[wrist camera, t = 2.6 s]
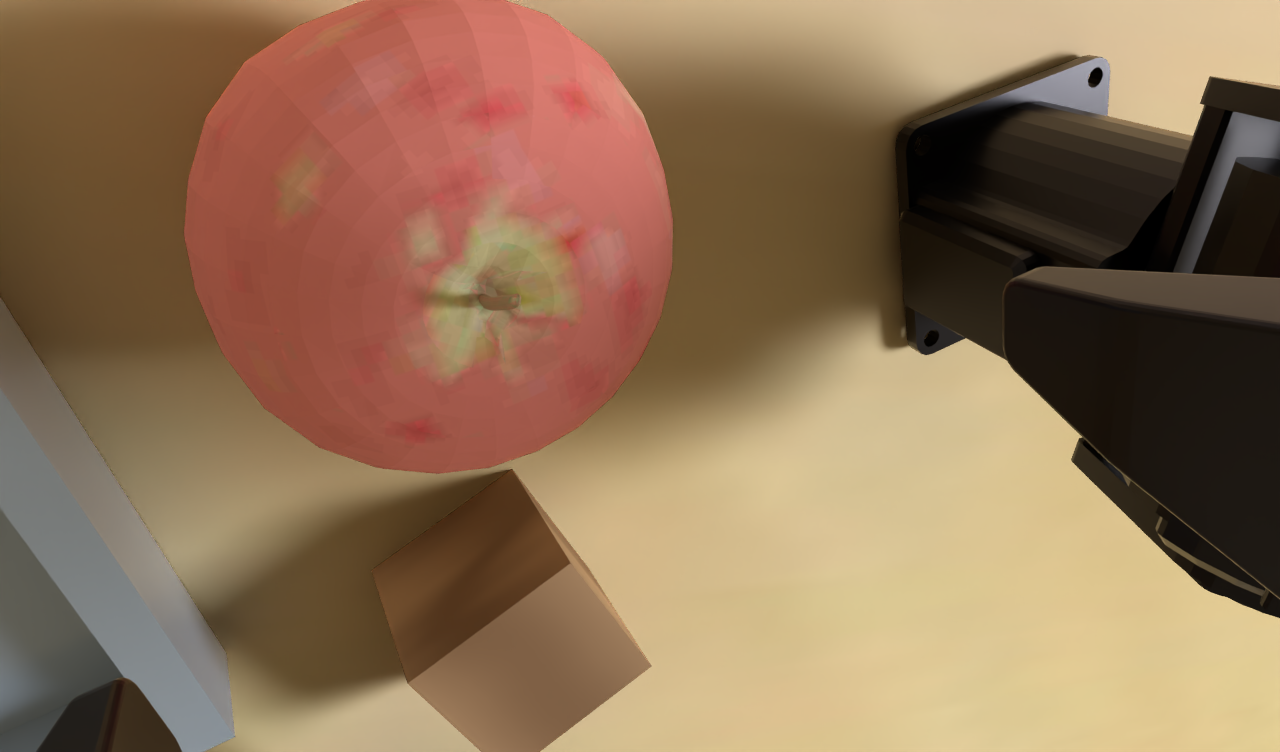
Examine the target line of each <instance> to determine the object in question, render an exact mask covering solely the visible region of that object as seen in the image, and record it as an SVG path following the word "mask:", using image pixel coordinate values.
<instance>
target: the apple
mask: <svg viewBox="0 0 1280 752" xmlns="http://www.w3.org/2000/svg"><path fill="white" fill-rule="evenodd" d="M184 237H185V243H186V247H187V252H188V257H189V261H190V266H191V271H192V276H193V281H194V286H195V291H196V293H197V296H198V298H199V301H200V303H201V305H202V308H203V310H204V312H205V315H206V317H207V319H208V322H209V324H210V326H211V329H212V331H213V333H214V336H215V338H216V340H217V343H218V345H219V347H220V349H221V351H222V353H223V354H224V356H225V357H226V358H227V360H228V361H229V362H230V364H231V365H232V366H233V368H234V369H235V370H236V372H237V373H238V374H239V376H240V377H241V378H242V380H243V381H244V382H245V384H246V385H247V386H248V388H249V389H250V390H251V391H252V393H253V394H254V395H255V397H256V398H257V399H258V401H259V402H260V403H261V405H262V406H263V407H264V408H265V409H266V410H268V411H269V412H270V413H272V414H273V415H275V416H276V417H277V418H279V419H280V420H282V421H283V422H284V423H286V424H287V425H289V426H290V427H291V428H293V429H294V430H296V431H297V432H298V433H300V434H301V435H303V436H304V437H305V438H307V439H308V440H310V441H311V442H312V443H314V444H315V445H317V446H318V447H319V448H322V449H325V450H328V451H331V452H334V453H336V454H339V455H342V456H345V457H348V458H351V459H354V460H356V461H359V462H362V463H365V464H368V465H371V466H374V467H378V468H383V469H394V470H404V471H415V472H425V473H436V474H439V473H447V472H456V471H464V470H473V469H481V468H489V467H492V466H495V465H498V464H501V463H504V462H507V461H510V460H512V459H515V458H518V457H521V456H524V455H527V454H530V453H533V452H536V451H538V450H540V449H542V448H543V447H545V446H547V445H549V444H550V443H552V442H554V441H555V440H557V439H559V438H561V437H562V436H564V435H566V434H568V433H569V432H571V431H573V430H574V429H576V428H578V427H579V426H580V425H581V424H583V423H584V422H585V421H586V420H587V419H588V418H589V417H590V416H591V415H593V414H594V413H595V412H596V411H597V410H598V409H599V408H600V407H601V406H603V405H604V404H605V403H606V402H607V401H608V400H609V399H610V398H612V397H613V395H614V394H615V393H616V391H617V390H618V389H619V387H620V386H621V385H622V383H623V382H624V381H625V379H626V378H627V377H628V375H629V374H630V373H631V371H632V370H633V368H634V367H635V366H636V364H637V363H638V362H639V360H640V359H641V357H642V355H643V353H644V351H645V349H646V347H647V345H648V343H649V340H650V338H651V336H652V334H653V332H654V330H655V328H656V326H657V324H658V322H659V320H660V318H661V314H662V310H663V305H664V301H665V297H666V293H667V289H668V285H669V281H670V276H671V271H672V254H673V217H672V211H671V206H670V200H669V195H668V190H667V184H666V179H665V174H664V170H663V166H662V163H661V160H660V158H659V155H658V152H657V150H656V147H655V144H654V142H653V139H652V136H651V134H650V131H649V128H648V125H647V123H646V120H645V117H644V115H643V113H642V112H641V110H640V109H639V107H638V106H637V104H636V103H635V101H634V100H633V99H632V97H631V96H630V94H629V93H628V91H627V90H626V89H625V87H624V86H623V84H622V83H621V81H620V80H619V79H618V77H617V76H616V74H615V73H614V71H613V70H612V69H611V67H610V66H609V64H608V63H607V61H606V60H605V59H604V58H603V57H602V56H601V55H600V54H599V53H597V52H596V51H595V50H594V49H593V48H591V47H590V46H589V45H587V44H586V43H585V42H583V41H582V40H580V39H579V38H578V37H576V36H575V35H574V34H572V33H571V32H570V31H568V30H567V29H566V28H565V27H563V26H562V25H561V24H559V23H558V22H557V21H555V20H554V19H552V18H551V17H549V16H548V15H546V14H543V13H540V12H537V11H535V10H532V9H529V8H526V7H523V6H520V5H517V4H514V3H511V2H508V1H505V0H367V1H362V2H359V3H356V4H353V5H351V6H348V7H345V8H343V9H340V10H338V11H335V12H332V13H330V14H327V15H325V16H322V17H320V18H317V19H314V20H312V21H309V22H307V23H304V24H301V25H299V26H297V27H296V28H294V29H293V30H291V31H290V32H288V33H287V34H285V35H284V36H282V37H281V38H279V39H278V40H276V41H275V42H273V43H272V44H270V45H269V46H267V47H266V48H264V49H263V50H262V51H260V52H259V53H257V54H256V55H254V56H253V57H251V58H250V59H248V60H247V61H245V62H244V63H243V65H242V66H241V68H240V69H239V71H238V72H237V73H236V75H235V76H234V78H233V79H232V81H231V82H230V83H229V85H228V86H227V88H226V89H225V91H224V92H223V93H222V95H221V96H220V98H219V99H218V101H217V102H216V103H215V105H214V106H213V108H212V109H211V111H210V112H209V113H208V115H207V116H206V119H205V122H204V126H203V129H202V133H201V136H200V140H199V143H198V147H197V150H196V154H195V157H194V161H193V164H192V168H191V171H190V175H189V178H188V188H187V201H186V214H185V227H184Z"/></svg>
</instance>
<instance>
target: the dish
mask: <svg viewBox="0 0 1280 752" xmlns="http://www.w3.org/2000/svg"><path fill="white" fill-rule="evenodd" d="M120 677H122V678H128V679H130V680H131V681H133V682H134V683H135V684H136V685H137V686H138V687H139V688H140V690H141V691H142V692H143V694H144V695H145V696H146V698H147V699H148V701H149V702H150V703H151V705H152V706H153V707H154V709H155V710H156V712H157V713H158V714H159V716H160V717H161V718H162V720H163V721H164V723H165V724H166V725H167V727H168V728H169V729H170V731H171V732H172V734H173V735H174V737H175V738H176V740H177V742H178V744H179V746H180V748H181V750H182V752H204V751H206V750H208V749H211V748H213V747H215V746H217V745H219V744H221V743H223V742H225V741H227V740H229V739H231V738H233V737H235V731H234V721H233V712H232V702H231V692H230V682H229V672H228V662H227V653H226V652H225V650H224V649H223V647H222V646H221V644H220V642H219V641H218V639H217V638H216V636H215V635H214V633H213V631H212V630H211V628H210V627H209V625H208V624H207V622H206V620H205V619H204V617H203V616H202V614H201V612H200V611H199V609H198V608H197V606H196V605H195V603H194V601H193V600H192V598H191V597H190V595H189V594H188V592H187V590H186V589H185V587H184V586H183V584H182V583H181V581H180V579H179V578H178V576H177V575H176V573H175V571H174V570H173V568H172V567H171V565H170V564H169V562H168V560H167V559H166V557H165V556H164V554H163V553H162V551H161V549H160V548H159V546H158V545H157V543H156V541H155V540H154V538H153V537H152V535H151V534H150V532H149V530H148V529H147V527H146V526H145V524H144V523H143V521H142V519H141V518H140V516H139V515H138V513H137V512H136V510H135V508H134V507H133V505H132V504H131V502H130V500H129V499H128V497H127V496H126V494H125V493H124V491H123V489H122V488H121V486H120V485H119V483H118V482H117V480H116V478H115V477H114V475H113V474H112V472H111V471H110V469H109V467H108V466H107V464H106V463H105V461H104V459H103V458H102V456H101V455H100V453H99V452H98V450H97V448H96V447H95V445H94V444H93V442H92V441H91V439H90V437H89V436H88V434H87V433H86V431H85V430H84V428H83V426H82V425H81V423H80V422H79V420H78V418H77V417H76V415H75V414H74V412H73V411H72V409H71V407H70V406H69V404H68V403H67V401H66V400H65V398H64V396H63V395H62V393H61V392H60V390H59V388H58V387H57V385H56V384H55V382H54V381H53V379H52V377H51V376H50V374H49V373H48V371H47V370H46V368H45V366H44V365H43V363H42V362H41V360H40V359H39V357H38V355H37V354H36V352H35V351H34V349H33V347H32V346H31V344H30V343H29V341H28V340H27V338H26V336H25V335H24V333H23V332H22V330H21V329H20V327H19V325H18V324H17V322H16V321H15V319H14V318H13V316H12V314H11V313H10V311H9V310H8V308H7V306H6V305H5V303H4V302H3V300H2V299H1V297H0V752H35V751H36V750H37V749H38V747H39V746H40V744H41V743H42V741H43V740H44V738H45V737H46V735H47V734H48V733H49V731H50V730H51V728H52V727H53V725H54V724H55V722H56V721H57V719H58V718H59V717H60V715H61V714H62V712H63V711H64V709H65V708H66V706H67V705H68V704H69V703H70V702H71V700H72V699H74V698H75V697H77V696H78V695H80V694H82V693H85V692H87V691H89V690H91V689H94V688H96V687H98V686H100V685H103V684H105V683H107V682H109V681H112V680H114V679H116V678H120Z"/></svg>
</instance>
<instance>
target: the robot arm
mask: <svg viewBox="0 0 1280 752" xmlns="http://www.w3.org/2000/svg"><path fill="white" fill-rule="evenodd" d="M1089 74H1090V77H1089ZM1088 77H1089V79H1088ZM1109 81H1110V66H1109V63H1108V62H1107V60H1106V59H1104V58H1102V57H1097V56H1091V55H1087V56H1082V57H1080V58H1077V59H1074V60H1072V61H1069V62H1067V63H1064V64H1061V65H1059V66H1056V67H1054V68H1051V69H1048V70H1046V71H1043V72H1041V73H1038V74H1035V75H1033V76H1030V77H1027V78H1025V79H1022V80H1020V81H1017V82H1014V83H1012V84H1009V85H1007V86H1004V87H1001V88H999V89H996V90H993V91H991V92H988V93H986V94H983V95H980V96H978V97H975V98H973V99H970V100H967V101H965V102H962V103H959V104H957V105H954V106H952V107H949V108H946V109H944V110H941V111H939V112H936V113H933V114H931V115H928V116H926V117H923V118H920V119H918V120H915V121H912V122H910V123H909V124H907V125H905V126H904V127H903V129H902V130H901V131H900V132H899V135H898V137H897V140H896V147H895V150H896V166H897V182H898V198H899V214H900V221H899V228H900V244H901V260H902V276H903V292H904V303H905V311H906V328H907V340H908V344H909V346H910V347H911V348H913V349H914V350H916V351H918V352H919V353H921V354H924V355H929V354H933V353H935V352H937V351H939V350H941V349H943V348H945V347H948V346H950V345H952V344H954V343H956V342H958V341H960V340H963V339H965V338H967V339H969V340H970V341H972V342H974V343H976V344H978V345H980V346H981V347H983V348H985V349H987V350H989V351H991V352H992V353H994V354H996V355H998V356H1000V357H1002V358H1003V359H1005V360H1007V361H1008V363H1009V364H1010V366H1011V367H1012V369H1013V370H1014V371H1015V372H1016V373H1017V374H1018V375H1019V376H1020V377H1021V378H1022V379H1023V380H1024V381H1025V382H1026V383H1027V384H1028V385H1029V386H1030V387H1031V388H1032V389H1033V390H1035V391H1036V392H1037V393H1038V394H1039V395H1040V396H1041V397H1042V398H1043V399H1044V400H1045V401H1046V402H1047V403H1048V404H1049V405H1050V406H1051V407H1052V408H1053V409H1054V410H1055V411H1056V412H1057V413H1058V414H1059V415H1060V416H1061V417H1062V418H1063V419H1064V420H1065V421H1066V422H1067V423H1068V424H1069V425H1070V426H1072V427H1073V428H1074V429H1075V430H1076V431H1077V432H1078V433H1079V434H1080V435H1081V436H1082V437H1083V438H1079V440H1078V442H1077V445H1076V448H1075V451H1074V454H1073V456H1072V459H1071V460H1072V462H1073V463H1074V464H1075V465H1076V466H1077V467H1078V468H1079V469H1080V470H1081V471H1082V472H1083V473H1084V474H1085V475H1086V476H1087V477H1088V478H1089V479H1090V480H1091V481H1092V482H1093V483H1094V484H1095V485H1096V486H1097V487H1098V488H1099V489H1100V490H1101V491H1102V492H1103V493H1105V494H1106V495H1107V496H1108V497H1109V498H1110V499H1111V500H1112V501H1113V502H1114V503H1115V504H1116V505H1117V506H1118V507H1119V508H1120V509H1121V510H1122V511H1123V512H1124V513H1125V514H1126V515H1127V516H1128V517H1129V518H1130V519H1131V520H1132V521H1133V522H1134V523H1135V524H1136V525H1137V526H1138V527H1139V528H1140V529H1141V530H1142V531H1143V532H1144V533H1145V534H1146V535H1147V536H1148V537H1149V538H1150V539H1151V540H1152V541H1153V542H1154V543H1156V544H1157V545H1158V546H1159V547H1160V548H1161V549H1162V550H1163V551H1164V552H1165V553H1166V554H1167V555H1168V556H1169V557H1170V558H1171V559H1172V560H1173V561H1174V562H1175V563H1176V564H1178V565H1179V566H1180V567H1181V568H1182V569H1183V570H1185V571H1186V572H1187V573H1188V574H1189V575H1190V576H1191V577H1192V578H1193V579H1194V580H1195V581H1196V582H1197V583H1198V584H1199V585H1200V586H1202V587H1203V588H1204V589H1206V590H1208V591H1210V592H1212V593H1215V594H1217V595H1221V596H1225V597H1228V598H1230V599H1232V600H1234V601H1236V602H1238V603H1240V604H1242V605H1244V606H1247V607H1250V608H1253V609H1255V610H1258V611H1260V612H1262V613H1265V614H1269V615H1272V616H1275V617H1278V618H1280V86H1276V85H1269V84H1262V83H1254V82H1247V81H1240V80H1233V79H1225V78H1218V77H1211V76H1210V77H1209V80H1208V83H1207V86H1206V88H1205V91H1204V94H1203V97H1202V99H1201V102H1200V104H1204V108H1203V111H1202V113H1201V116H1200V119H1199V122H1198V124H1197V127H1196V130H1195V133H1194V135H1193V136H1190V135H1186V134H1182V133H1178V132H1173V131H1169V130H1165V129H1160V128H1156V127H1152V126H1147V125H1143V124H1139V123H1135V122H1130V121H1126V120H1122V119H1117V118H1113V117H1109V116H1107V114H1108V98H1109ZM919 137H920V138H921V139H920V144H919V146H918V148H917V149H916V150H914V146H915V142H916V140H917V139H918V138H919ZM928 332H929V334H928V336H927V337H926V338H925V336H926V334H927V333H928ZM924 338H925V339H924ZM35 752H182V750H181V748H180V746H179V744H178V742H177V740H176V738H175V737H174V735H173V734H172V732H171V731H170V729H169V728H168V727H167V725H166V724H165V723H164V721H163V720H162V718H161V717H160V716H159V714H158V713H157V712H156V710H155V709H154V707H153V706H152V705H151V703H150V702H149V701H148V699H147V698H146V696H145V695H144V694H143V692H142V691H141V690H140V688H139V687H138V686H137V685H136V684H135V683H134V682H133V681H131V680H130V679H128V678H122V677H120V678H116V679H114V680H112V681H109V682H107V683H105V684H103V685H100V686H98V687H96V688H94V689H91V690H89V691H87V692H85V693H82V694H80V695H78V696H77V697H75V698H74V699H72V700H71V702H70V703H69V704H68V705H67V706H66V708H65V709H64V711H63V712H62V714H61V715H60V717H59V718H58V719H57V721H56V722H55V724H54V725H53V727H52V728H51V730H50V731H49V733H48V734H47V735H46V737H45V738H44V740H43V741H42V743H41V744H40V746H39V747H38V749H37V750H36V751H35Z"/></svg>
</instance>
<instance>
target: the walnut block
mask: <svg viewBox="0 0 1280 752" xmlns="http://www.w3.org/2000/svg"><path fill="white" fill-rule="evenodd" d="M371 571H372V574H373V577H374V580H375V584H376V587H377V590H378V593H379V596H380V599H381V602H382V605H383V608H384V612H385V615H386V618H387V621H388V624H389V627H390V630H391V633H392V636H393V639H394V643H395V646H396V649H397V652H398V655H399V658H400V661H401V664H402V667H403V671H404V674H405V677H406V680H407V683H408V684H409V685H410V686H411V687H412V688H413V689H414V690H415V691H416V692H417V693H418V694H420V695H421V696H422V697H423V698H424V699H425V700H426V701H427V702H428V703H429V704H430V705H431V706H433V707H434V708H435V709H436V710H437V711H438V712H439V713H440V714H441V715H442V716H443V717H444V718H445V719H447V720H448V721H449V722H450V723H451V724H452V725H453V726H454V727H455V728H456V729H457V730H458V731H460V732H461V733H462V734H463V735H464V736H465V737H466V738H467V739H468V740H469V741H470V742H471V743H473V744H474V745H475V746H476V747H477V748H478V749H479V750H480V751H481V752H540V751H541V750H542V749H544V748H545V747H546V746H548V745H549V744H550V743H552V742H553V741H554V740H556V739H557V738H558V737H559V736H561V735H562V734H563V733H565V732H566V731H567V730H569V729H570V728H571V727H573V726H574V725H575V724H576V723H578V722H579V721H580V720H582V719H583V718H584V717H586V716H587V715H588V714H590V713H591V712H592V711H593V710H595V709H596V708H597V707H599V706H600V705H601V704H603V703H604V702H605V701H607V700H608V699H609V698H611V697H612V696H613V695H614V694H616V693H617V692H618V691H620V690H621V689H622V688H624V687H625V686H626V685H628V684H629V683H630V682H631V681H633V680H634V679H635V678H637V677H638V676H639V675H641V674H642V673H643V672H645V671H646V670H647V669H648V668H650V667H651V665H650V663H649V662H648V660H647V658H646V657H645V655H644V654H643V652H642V651H641V649H640V648H639V646H638V644H637V643H636V641H635V640H634V638H633V637H632V635H631V634H630V632H629V631H628V629H627V627H626V626H625V624H624V623H623V621H622V620H621V618H620V617H619V615H618V613H617V612H616V610H615V609H614V607H613V606H612V604H611V603H610V601H609V599H608V598H607V596H606V595H605V593H604V592H603V590H602V589H601V587H600V586H599V584H598V582H597V581H596V579H595V578H594V576H593V575H592V573H591V572H590V570H589V568H588V567H587V566H586V564H585V563H584V562H583V560H582V559H581V558H580V557H579V555H578V554H577V553H576V551H575V550H574V549H573V547H572V546H571V545H570V544H569V542H568V541H567V540H566V538H565V537H564V536H563V534H562V533H561V532H560V531H559V529H558V528H557V527H556V525H555V524H554V523H553V521H552V520H551V519H550V518H549V516H548V515H547V514H546V512H545V511H544V510H543V508H542V507H541V506H540V505H539V503H538V502H537V501H536V499H535V498H534V497H533V495H532V494H531V493H530V492H529V490H528V489H527V488H526V486H525V485H524V484H523V482H522V481H521V480H520V479H519V477H518V476H517V475H516V473H515V472H514V471H513V469H511V470H510V471H509V472H507V473H506V474H504V475H503V476H502V477H500V478H499V479H497V480H496V481H495V482H493V483H492V484H491V485H489V486H488V487H486V488H485V489H484V490H482V491H481V492H479V493H478V494H477V495H475V496H474V497H473V498H471V499H470V500H468V501H467V502H466V503H464V504H463V505H461V506H460V507H459V508H457V509H456V510H454V511H453V512H452V513H450V514H449V515H448V516H446V517H445V518H443V519H442V520H441V521H439V522H438V523H436V524H435V525H434V526H432V527H431V528H429V529H428V530H427V531H425V532H424V533H423V534H421V535H420V536H418V537H417V538H416V539H414V540H413V541H411V542H410V543H409V544H407V545H406V546H404V547H403V548H402V549H400V550H399V551H398V552H396V553H395V554H393V555H392V556H391V557H389V558H388V559H386V560H385V561H384V562H382V563H381V564H379V565H378V566H377V567H375V568H374V569H373V570H371Z"/></svg>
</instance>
